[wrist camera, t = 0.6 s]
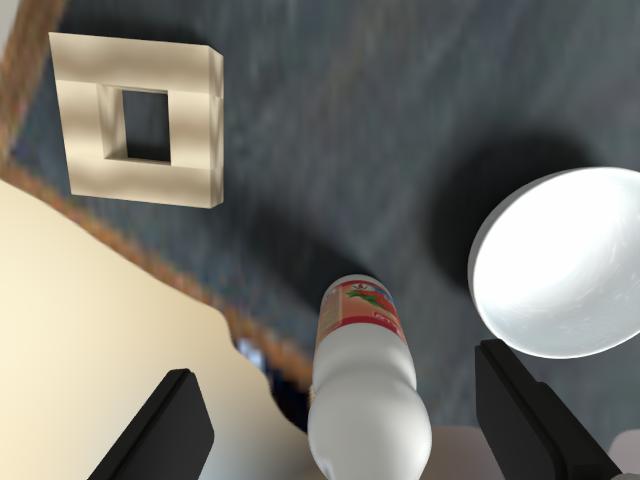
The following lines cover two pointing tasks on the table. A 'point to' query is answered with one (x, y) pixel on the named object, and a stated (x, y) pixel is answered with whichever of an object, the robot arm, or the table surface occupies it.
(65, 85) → the plate
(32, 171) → the table surface
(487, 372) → the robot arm
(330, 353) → the fruit juice
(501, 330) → the serving bowl
